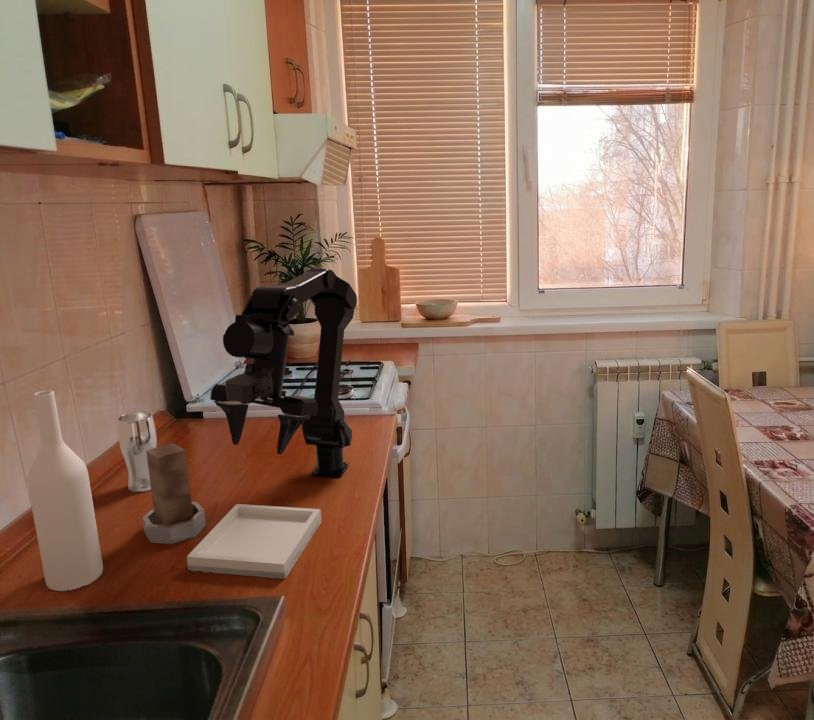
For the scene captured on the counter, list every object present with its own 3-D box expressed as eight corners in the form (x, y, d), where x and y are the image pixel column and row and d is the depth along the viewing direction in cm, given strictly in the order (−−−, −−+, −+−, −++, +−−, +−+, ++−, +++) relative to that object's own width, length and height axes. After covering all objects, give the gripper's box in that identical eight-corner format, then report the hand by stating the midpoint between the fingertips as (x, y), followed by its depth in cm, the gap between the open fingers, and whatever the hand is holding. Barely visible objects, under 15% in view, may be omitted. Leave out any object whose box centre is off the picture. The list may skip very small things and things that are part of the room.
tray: (237, 516, 120) (236, 503, 119) (321, 521, 117) (320, 509, 116) (188, 570, 103) (186, 556, 102) (285, 578, 100) (284, 564, 99)
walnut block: (182, 520, 119) (172, 442, 115) (194, 529, 116) (185, 449, 112) (156, 529, 116) (145, 450, 112) (168, 539, 112) (157, 458, 109)
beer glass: (121, 485, 134) (111, 416, 131) (155, 475, 139) (146, 408, 135) (132, 496, 129) (122, 424, 125) (167, 486, 133) (158, 416, 130)
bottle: (36, 593, 98) (-1, 402, 90) (59, 564, 106) (28, 386, 98) (91, 590, 98) (60, 399, 91) (111, 560, 106) (83, 383, 99)
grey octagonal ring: (165, 514, 121) (163, 500, 120) (213, 518, 119) (211, 503, 119) (135, 541, 112) (133, 525, 111) (186, 545, 110) (184, 529, 110)
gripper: (194, 350, 109) (182, 443, 109) (288, 364, 102) (275, 464, 102) (236, 353, 119) (225, 438, 119) (324, 367, 112) (312, 457, 112)
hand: (257, 449), depth 113 cm, fingers open, 9 cm apart
